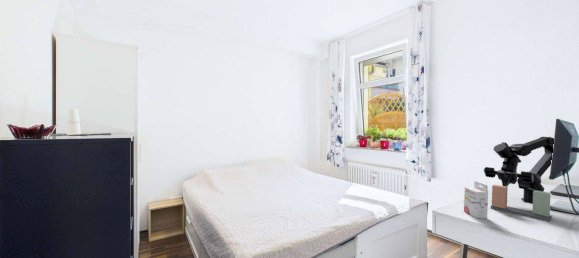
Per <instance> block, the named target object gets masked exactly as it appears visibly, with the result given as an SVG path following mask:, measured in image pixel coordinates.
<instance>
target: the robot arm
mask: <svg viewBox="0 0 579 258" xmlns="http://www.w3.org/2000/svg"><path fill="white" fill-rule="evenodd" d="M554 139H555V138H554V137H552V136H540V137H538V138H536V139H533V140H531V141H527V142H525V143H513V144H511V145H509V144H508V143H507V142H505V141H504V142H503V141H502V142H501V143H499V144H496V145H495V146H493V151H494V153H495V154H497V155H498V156H499V158H501V159H503V161H502V167H501V168H500V169H498V170H496V169H495V167H489V166H485V167H484V169H483V172H484V175H485V177H487V178H492V179H493V178H496V176H497V178H498V180H500V181H501V184H502V185H501V186H506V187H508V186H509V185H510V184H511V185H516V184H517V186H518V189H522V190H523V197H521V201H523V202H525V203H532V204H533V191H534V190H537V191H543V192H545V188H544V186H543V185H542V176H543V175H544V174H545V173H546V171H547V170H548V169H549V168H550V166H552V164H551V160H552V153H553V144H554ZM540 148H543V151H544V154H543V155H542V156H541V158H539V160H538V161H537V162H536V163H535V164H534V165H533V167H532V168H531V169H530V170H529V171H523V170H521V172H520V173H519V172H517V171H518V169H517V168H518V165H519V164H520V163H522V160H521V159H520V157H527V156H528V155H530V154H532V151H535V150H537V149H540ZM519 156H520V157H519Z"/></svg>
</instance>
